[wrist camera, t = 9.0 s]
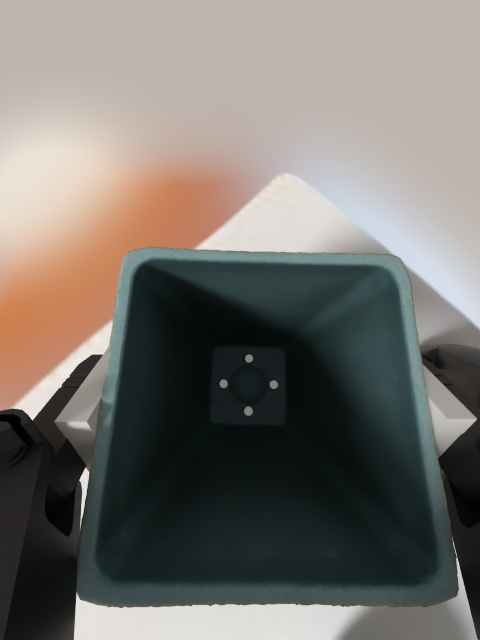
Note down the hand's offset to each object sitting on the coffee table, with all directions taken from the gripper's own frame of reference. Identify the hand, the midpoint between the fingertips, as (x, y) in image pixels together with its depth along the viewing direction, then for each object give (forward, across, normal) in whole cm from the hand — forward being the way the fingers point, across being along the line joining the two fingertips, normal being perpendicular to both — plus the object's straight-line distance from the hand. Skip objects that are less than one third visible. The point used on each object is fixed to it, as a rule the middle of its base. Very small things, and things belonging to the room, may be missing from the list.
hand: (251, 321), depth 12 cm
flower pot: (+1, 0, -5) cm, 5 cm away
